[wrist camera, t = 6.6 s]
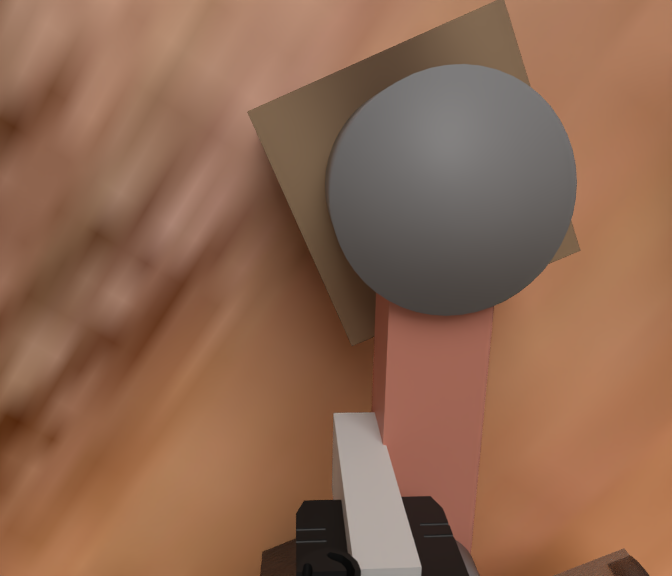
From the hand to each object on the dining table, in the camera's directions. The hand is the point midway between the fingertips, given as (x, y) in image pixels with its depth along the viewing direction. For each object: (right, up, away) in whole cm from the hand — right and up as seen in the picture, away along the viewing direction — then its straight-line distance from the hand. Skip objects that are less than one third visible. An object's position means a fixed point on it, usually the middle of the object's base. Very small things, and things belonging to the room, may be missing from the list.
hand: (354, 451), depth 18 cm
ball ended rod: (+2, +3, 0) cm, 4 cm away
